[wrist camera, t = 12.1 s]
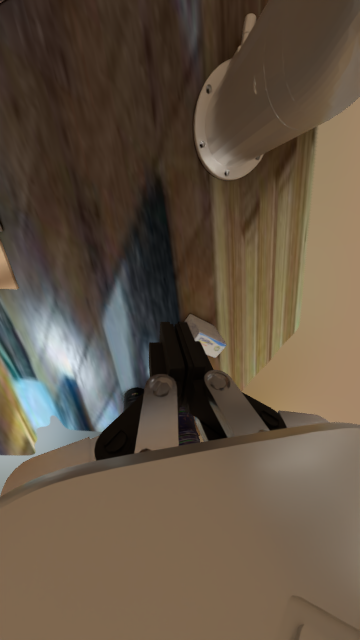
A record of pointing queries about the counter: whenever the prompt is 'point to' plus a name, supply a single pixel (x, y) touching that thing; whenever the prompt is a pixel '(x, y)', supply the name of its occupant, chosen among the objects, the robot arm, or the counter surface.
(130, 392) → the supplement bottle
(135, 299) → the counter surface
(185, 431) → the dark purple cylinder
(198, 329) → the medicine box
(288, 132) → the robot arm
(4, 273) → the wooden cutting board
